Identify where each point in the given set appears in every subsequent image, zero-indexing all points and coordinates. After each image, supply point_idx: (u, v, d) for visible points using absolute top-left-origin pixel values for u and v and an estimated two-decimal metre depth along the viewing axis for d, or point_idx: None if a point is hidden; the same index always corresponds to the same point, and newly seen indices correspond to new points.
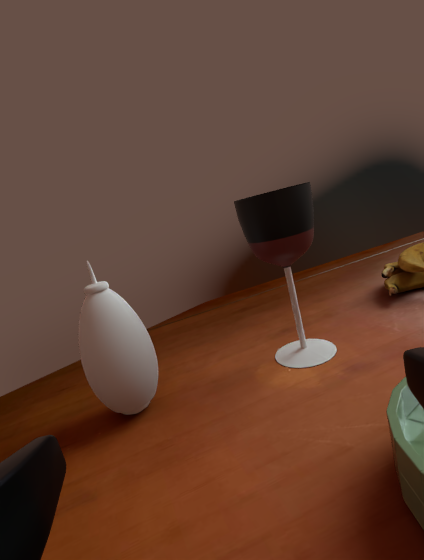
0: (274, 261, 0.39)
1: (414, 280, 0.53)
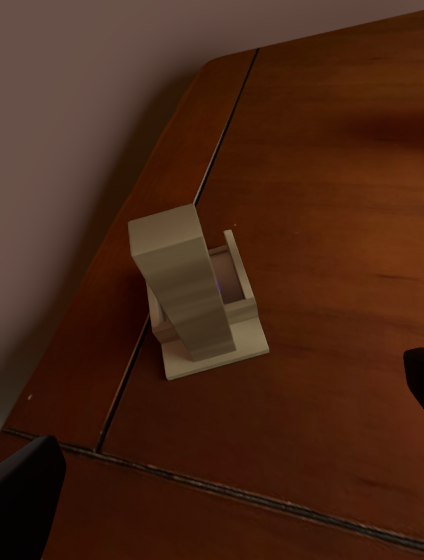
0: None
1: None
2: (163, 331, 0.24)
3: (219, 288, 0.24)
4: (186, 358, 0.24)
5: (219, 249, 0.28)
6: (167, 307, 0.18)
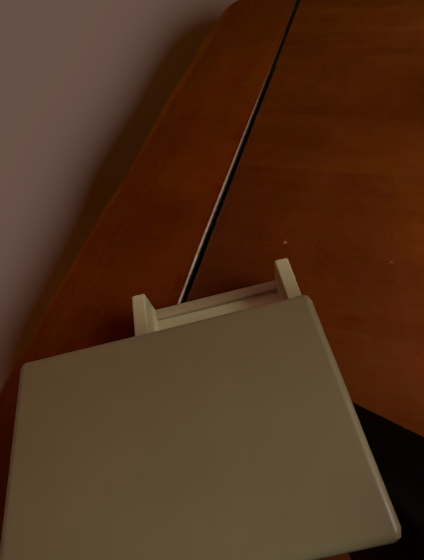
0: None
1: None
2: None
3: None
4: None
5: (263, 288, 0.17)
6: None
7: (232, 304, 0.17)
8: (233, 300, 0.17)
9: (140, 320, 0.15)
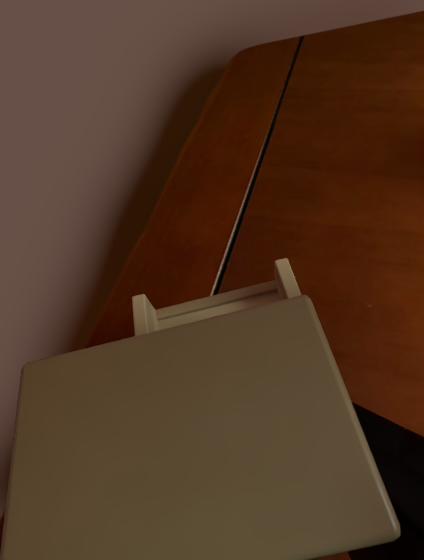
0: None
1: None
2: None
3: None
4: None
5: (263, 287, 0.17)
6: None
7: (232, 304, 0.17)
8: (233, 300, 0.17)
9: (141, 320, 0.15)
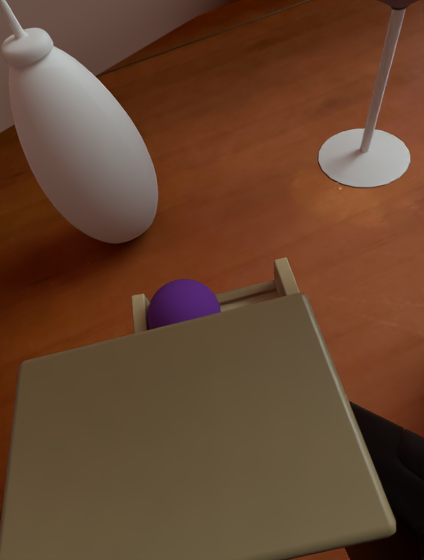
0: None
1: None
2: None
3: (192, 282, 0.15)
4: None
5: (262, 287, 0.17)
6: None
7: (231, 304, 0.17)
8: (232, 300, 0.17)
9: (140, 320, 0.15)
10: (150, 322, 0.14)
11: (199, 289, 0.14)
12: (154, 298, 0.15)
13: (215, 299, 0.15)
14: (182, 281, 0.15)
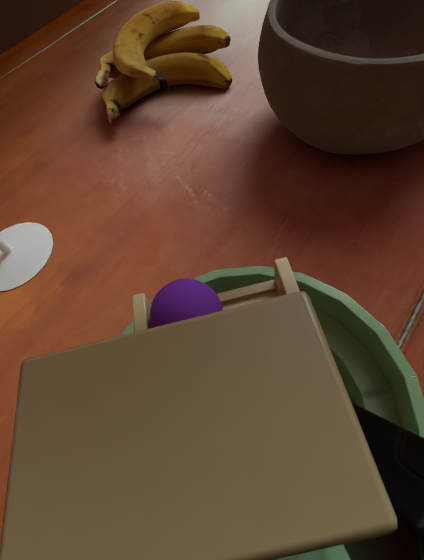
0: None
1: (139, 86, 0.39)
2: None
3: (196, 281, 0.15)
4: None
5: (262, 287, 0.17)
6: None
7: (232, 303, 0.17)
8: (233, 299, 0.17)
9: (140, 319, 0.15)
10: (153, 321, 0.14)
11: (203, 289, 0.14)
12: (157, 297, 0.15)
13: (218, 299, 0.15)
14: (186, 281, 0.15)
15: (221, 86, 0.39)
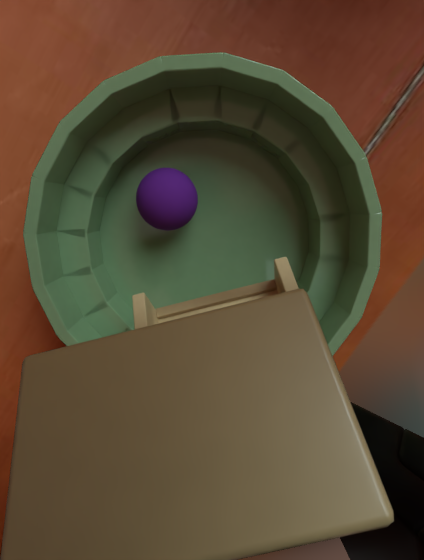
0: None
1: None
2: None
3: (187, 219, 0.18)
4: None
5: (262, 286, 0.17)
6: None
7: (232, 303, 0.17)
8: (233, 299, 0.17)
9: (141, 319, 0.15)
10: None
11: (192, 216, 0.18)
12: (157, 228, 0.18)
13: (197, 200, 0.18)
14: (181, 224, 0.18)
15: None
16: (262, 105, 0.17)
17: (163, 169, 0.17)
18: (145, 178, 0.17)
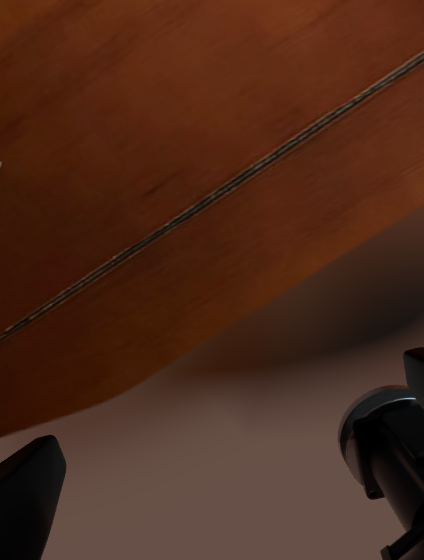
0: None
1: None
2: None
3: None
4: None
5: None
6: None
7: None
8: None
9: None
10: None
11: None
12: None
13: None
14: None
15: None
16: None
17: None
18: None
